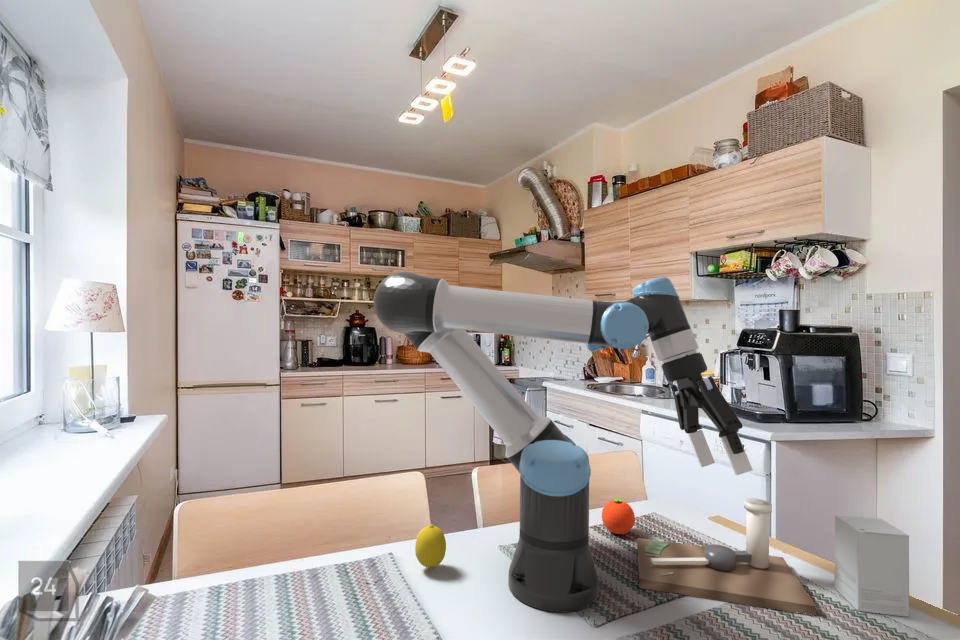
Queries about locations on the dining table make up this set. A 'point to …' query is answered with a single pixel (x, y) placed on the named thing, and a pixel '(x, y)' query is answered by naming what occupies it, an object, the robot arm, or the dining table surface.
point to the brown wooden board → (722, 578)
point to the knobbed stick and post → (727, 557)
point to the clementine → (618, 516)
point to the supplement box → (872, 565)
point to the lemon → (430, 546)
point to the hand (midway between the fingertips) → (724, 468)
